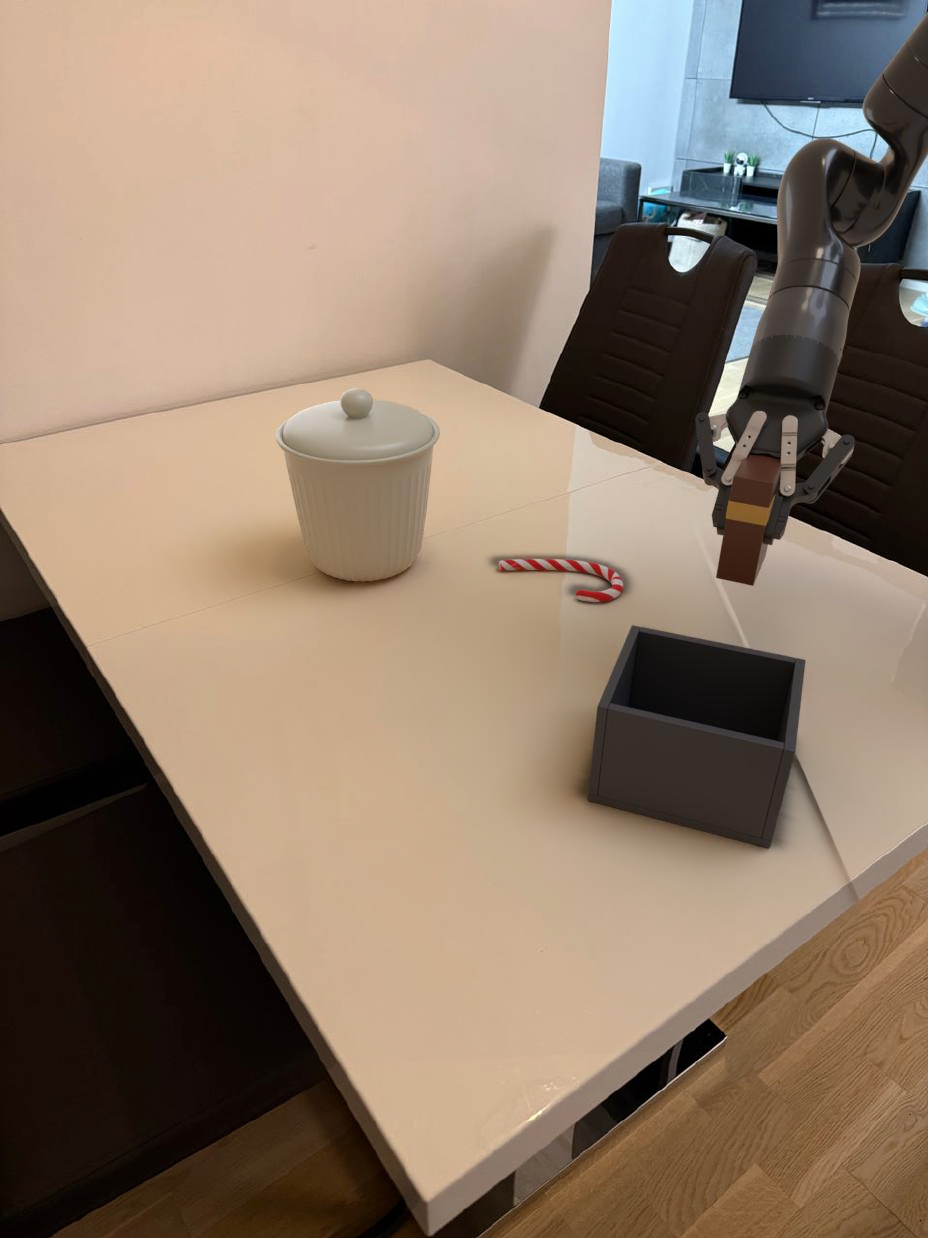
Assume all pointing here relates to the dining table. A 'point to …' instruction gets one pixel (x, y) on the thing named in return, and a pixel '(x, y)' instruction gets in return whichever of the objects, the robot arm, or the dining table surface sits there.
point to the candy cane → (571, 566)
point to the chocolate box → (748, 518)
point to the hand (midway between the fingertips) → (744, 535)
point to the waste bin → (697, 734)
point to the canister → (360, 483)
